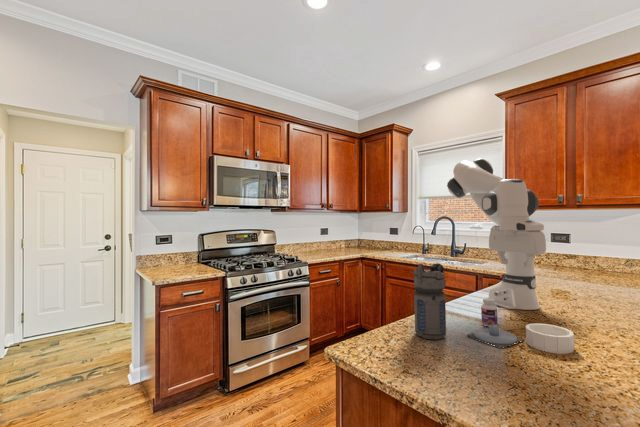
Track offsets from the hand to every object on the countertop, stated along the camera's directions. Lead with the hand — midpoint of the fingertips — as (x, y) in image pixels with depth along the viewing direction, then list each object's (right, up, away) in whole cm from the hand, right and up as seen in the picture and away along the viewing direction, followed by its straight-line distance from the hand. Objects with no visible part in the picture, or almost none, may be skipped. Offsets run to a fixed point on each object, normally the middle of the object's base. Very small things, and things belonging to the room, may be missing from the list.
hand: (515, 265), depth 107 cm
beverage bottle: (-28, -25, +2) cm, 37 cm away
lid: (-9, -23, -3) cm, 25 cm away
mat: (-9, -24, -3) cm, 26 cm away
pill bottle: (-3, -24, +10) cm, 27 cm away
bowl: (+5, -24, -9) cm, 26 cm away
